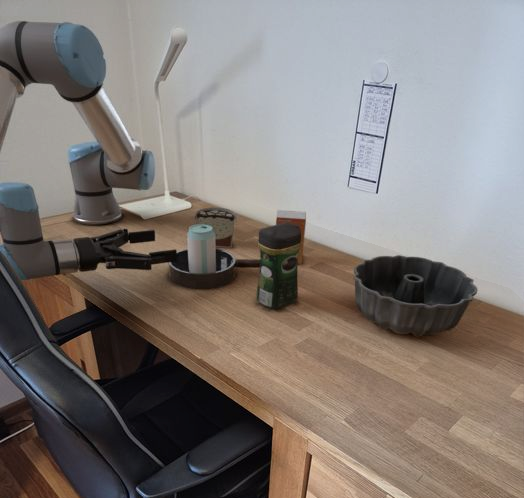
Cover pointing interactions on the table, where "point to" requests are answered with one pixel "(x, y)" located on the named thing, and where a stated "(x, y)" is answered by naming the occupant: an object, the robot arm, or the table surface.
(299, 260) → the small box
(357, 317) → the table surface
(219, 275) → the skillet
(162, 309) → the table surface
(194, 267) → the can
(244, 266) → the skillet handle
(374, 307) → the bundt pan
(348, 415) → the table surface
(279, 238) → the coffee jar
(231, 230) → the food container
